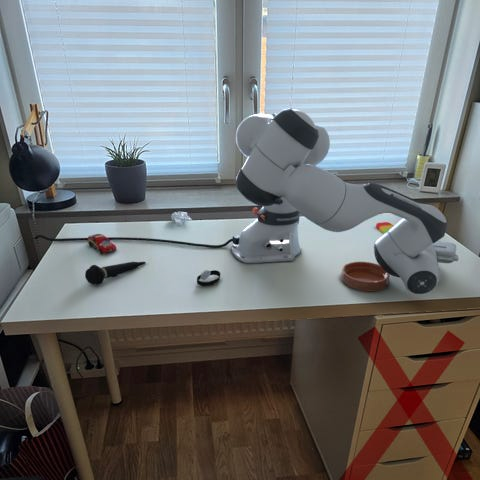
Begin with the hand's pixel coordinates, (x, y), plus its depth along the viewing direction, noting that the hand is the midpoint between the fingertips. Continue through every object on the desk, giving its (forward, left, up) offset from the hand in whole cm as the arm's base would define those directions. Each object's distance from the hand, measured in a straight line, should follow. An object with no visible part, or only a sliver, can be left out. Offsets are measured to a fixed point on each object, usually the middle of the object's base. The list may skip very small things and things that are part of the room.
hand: (416, 238), depth 133 cm
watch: (-63, +8, -9) cm, 64 cm away
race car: (-90, +42, -9) cm, 99 cm away
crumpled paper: (-60, +58, -9) cm, 84 cm away
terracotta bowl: (-20, -5, -9) cm, 22 cm away
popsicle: (+9, +23, -9) cm, 27 cm away
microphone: (-87, +20, -9) cm, 89 cm away
